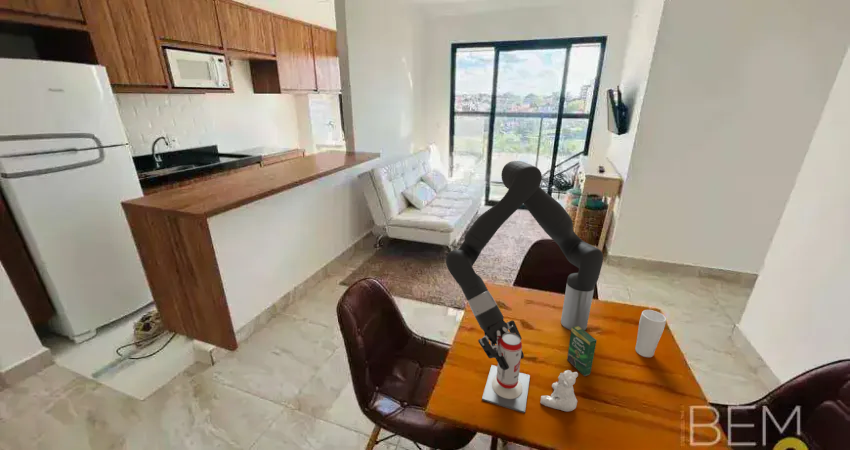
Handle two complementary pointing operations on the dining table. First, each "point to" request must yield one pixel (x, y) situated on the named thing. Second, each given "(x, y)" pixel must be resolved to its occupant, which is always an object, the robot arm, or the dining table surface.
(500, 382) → the beer can
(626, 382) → the dining table surface
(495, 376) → the card
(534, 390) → the dining table surface
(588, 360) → the coffee box
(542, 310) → the dining table surface
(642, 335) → the drinking glass
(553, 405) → the seated beast figurine
